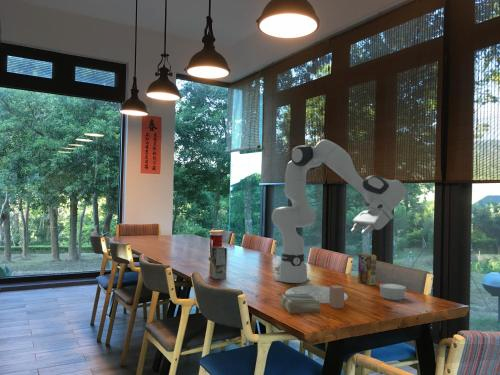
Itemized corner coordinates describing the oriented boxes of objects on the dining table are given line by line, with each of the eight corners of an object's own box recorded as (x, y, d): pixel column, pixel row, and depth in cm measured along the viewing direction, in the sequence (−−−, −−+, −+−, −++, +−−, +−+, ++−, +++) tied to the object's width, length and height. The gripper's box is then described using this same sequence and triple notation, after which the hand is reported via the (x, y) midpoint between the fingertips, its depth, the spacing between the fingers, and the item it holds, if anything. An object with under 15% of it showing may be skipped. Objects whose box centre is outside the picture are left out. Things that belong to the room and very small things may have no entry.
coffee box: (226, 278, 210) (227, 248, 210) (215, 279, 207) (216, 248, 207) (219, 275, 218) (220, 246, 218) (209, 276, 215) (209, 246, 215)
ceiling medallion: (300, 306, 163) (300, 298, 163) (276, 289, 190) (276, 283, 190) (360, 302, 171) (360, 295, 171) (329, 287, 198) (329, 281, 198)
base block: (280, 304, 163) (280, 293, 163) (308, 303, 166) (308, 292, 166) (290, 312, 151) (290, 301, 151) (319, 311, 154) (319, 300, 154)
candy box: (376, 284, 204) (376, 255, 204) (370, 285, 202) (370, 255, 202) (363, 281, 212) (364, 252, 212) (357, 282, 210) (358, 253, 210)
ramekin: (377, 294, 185) (377, 282, 185) (401, 295, 184) (402, 283, 184) (382, 300, 174) (382, 288, 174) (408, 301, 173) (409, 289, 173)
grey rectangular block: (329, 305, 164) (329, 285, 164) (339, 304, 165) (339, 285, 165) (333, 308, 159) (334, 288, 160) (343, 307, 160) (344, 287, 161)
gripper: (361, 205, 182) (341, 226, 180) (386, 206, 162) (364, 230, 160) (370, 214, 183) (350, 236, 180) (396, 217, 163) (374, 241, 160)
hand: (357, 233), depth 170 cm, fingers open, 8 cm apart
